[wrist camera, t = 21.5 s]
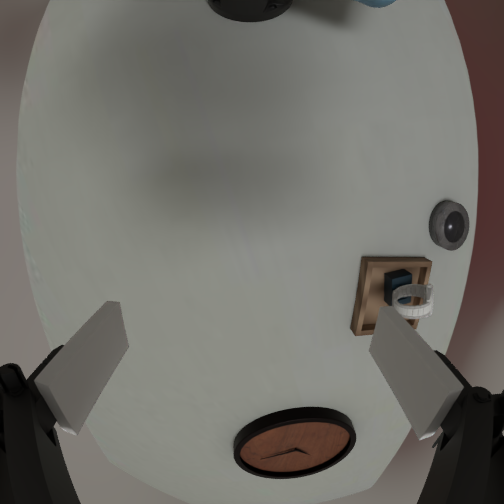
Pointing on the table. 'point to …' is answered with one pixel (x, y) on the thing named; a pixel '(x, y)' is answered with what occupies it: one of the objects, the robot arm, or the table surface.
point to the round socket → (449, 225)
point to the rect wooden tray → (373, 289)
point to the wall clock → (294, 442)
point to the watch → (407, 294)
